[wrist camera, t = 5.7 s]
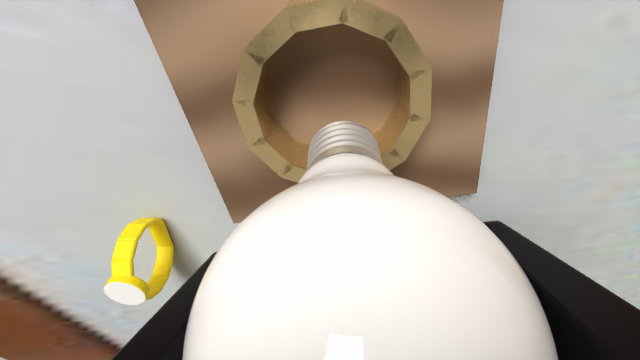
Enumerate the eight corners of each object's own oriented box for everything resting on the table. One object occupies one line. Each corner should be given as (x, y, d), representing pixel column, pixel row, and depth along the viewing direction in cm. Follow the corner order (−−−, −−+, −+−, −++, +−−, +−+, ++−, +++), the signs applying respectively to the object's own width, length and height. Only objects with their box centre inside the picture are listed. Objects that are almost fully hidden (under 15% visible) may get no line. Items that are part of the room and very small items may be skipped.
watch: (187, 253, 28) (160, 317, 23) (157, 253, 28) (124, 317, 23) (165, 205, 24) (128, 270, 20) (130, 205, 24) (84, 270, 20)
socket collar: (416, 150, 20) (428, 176, 18) (272, 170, 21) (265, 198, 19) (416, -25, 15) (435, -23, 12) (223, 14, 16) (204, 23, 13)
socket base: (471, 184, 23) (476, 193, 22) (236, 214, 25) (233, 223, 24) (515, -168, 13) (528, -178, 12) (113, -71, 15) (101, -73, 14)
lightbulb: (309, 222, 15) (281, 613, 6) (231, 110, 12) (-81, 586, 3) (440, 175, 13) (680, 622, 4) (391, 29, 10) (947, 583, 1)
